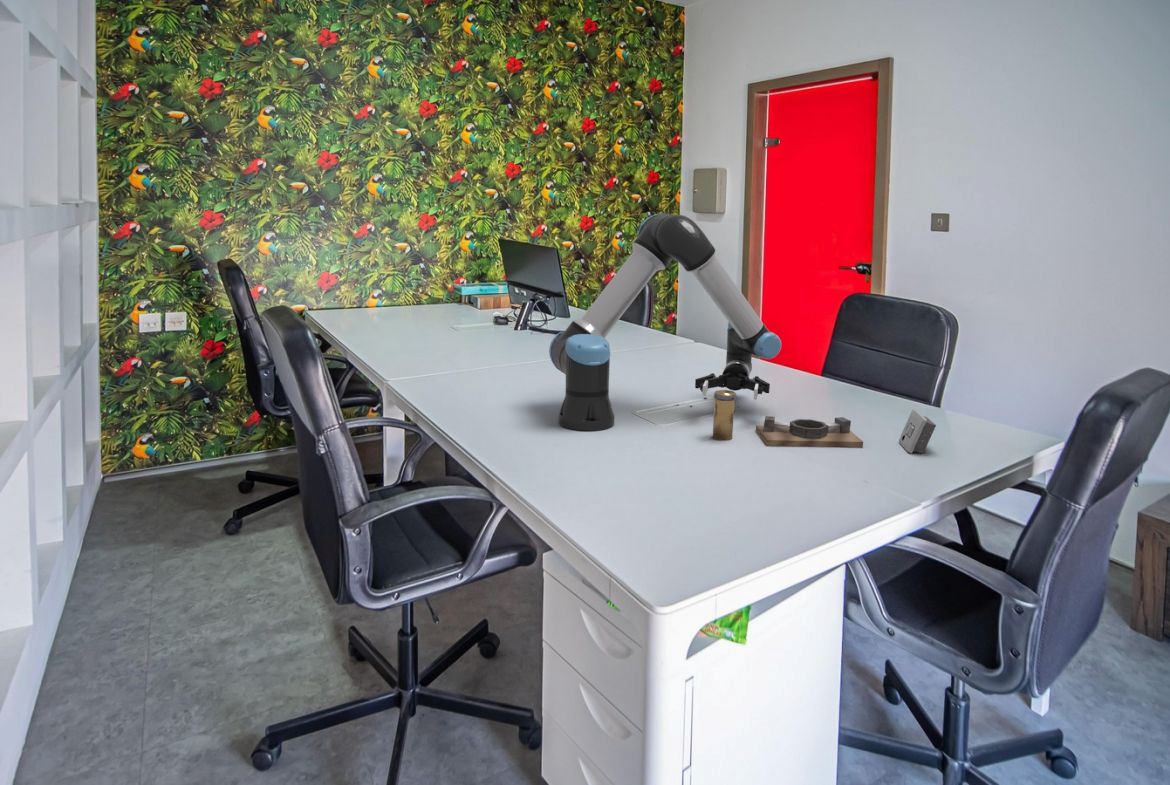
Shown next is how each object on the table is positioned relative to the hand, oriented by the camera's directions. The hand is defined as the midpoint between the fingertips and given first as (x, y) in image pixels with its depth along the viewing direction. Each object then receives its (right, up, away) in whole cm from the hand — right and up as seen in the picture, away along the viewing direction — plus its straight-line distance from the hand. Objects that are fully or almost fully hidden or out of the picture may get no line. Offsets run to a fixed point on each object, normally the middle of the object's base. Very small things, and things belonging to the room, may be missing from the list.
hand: (729, 392), depth 206 cm
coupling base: (+19, -12, -7) cm, 23 cm away
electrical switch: (+44, -14, -13) cm, 48 cm away
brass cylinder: (-3, -12, -7) cm, 14 cm away
